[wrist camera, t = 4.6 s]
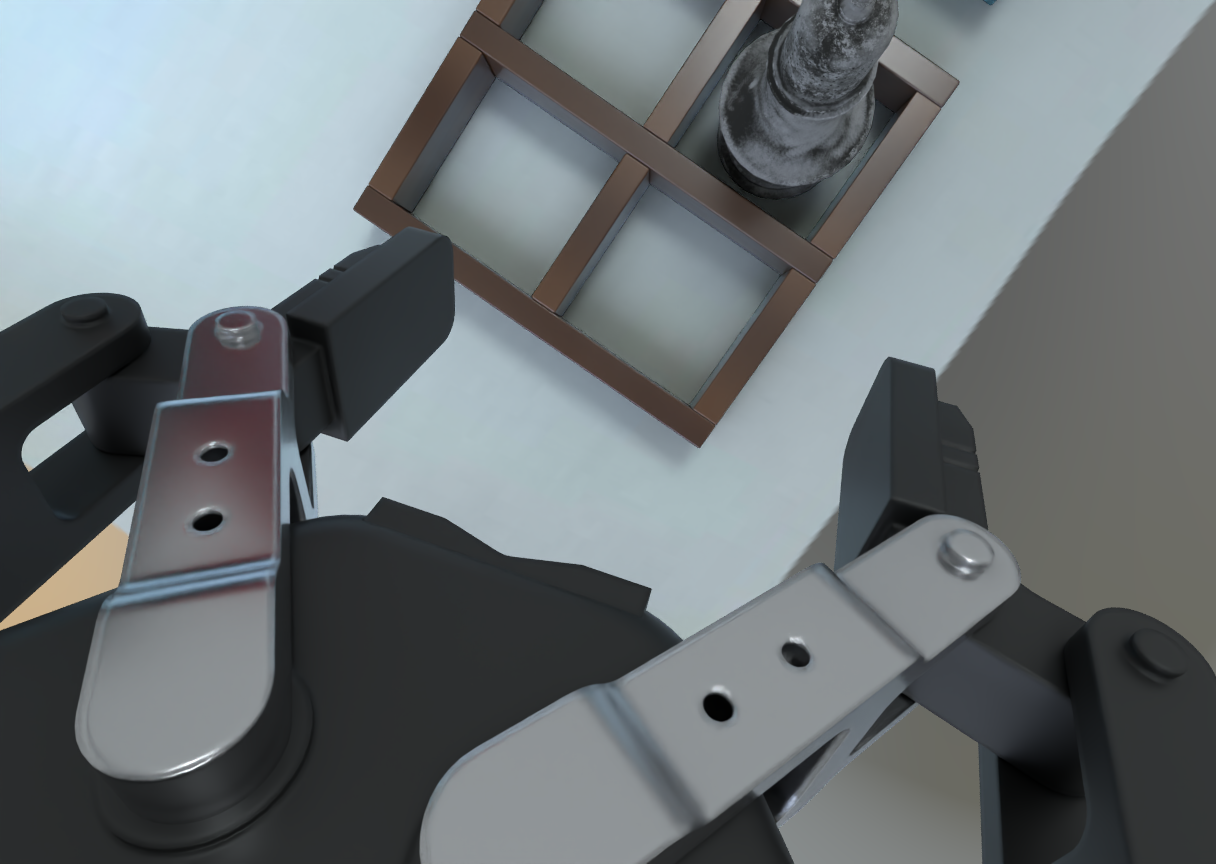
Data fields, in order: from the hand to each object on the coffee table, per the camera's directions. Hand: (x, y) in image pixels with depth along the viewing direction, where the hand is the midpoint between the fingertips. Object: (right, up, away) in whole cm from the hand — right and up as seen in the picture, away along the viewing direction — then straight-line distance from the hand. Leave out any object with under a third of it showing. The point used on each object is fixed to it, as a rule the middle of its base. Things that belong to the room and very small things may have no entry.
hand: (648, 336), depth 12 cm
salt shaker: (+7, +11, +17) cm, 22 cm away
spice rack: (+1, +10, +18) cm, 20 cm away
